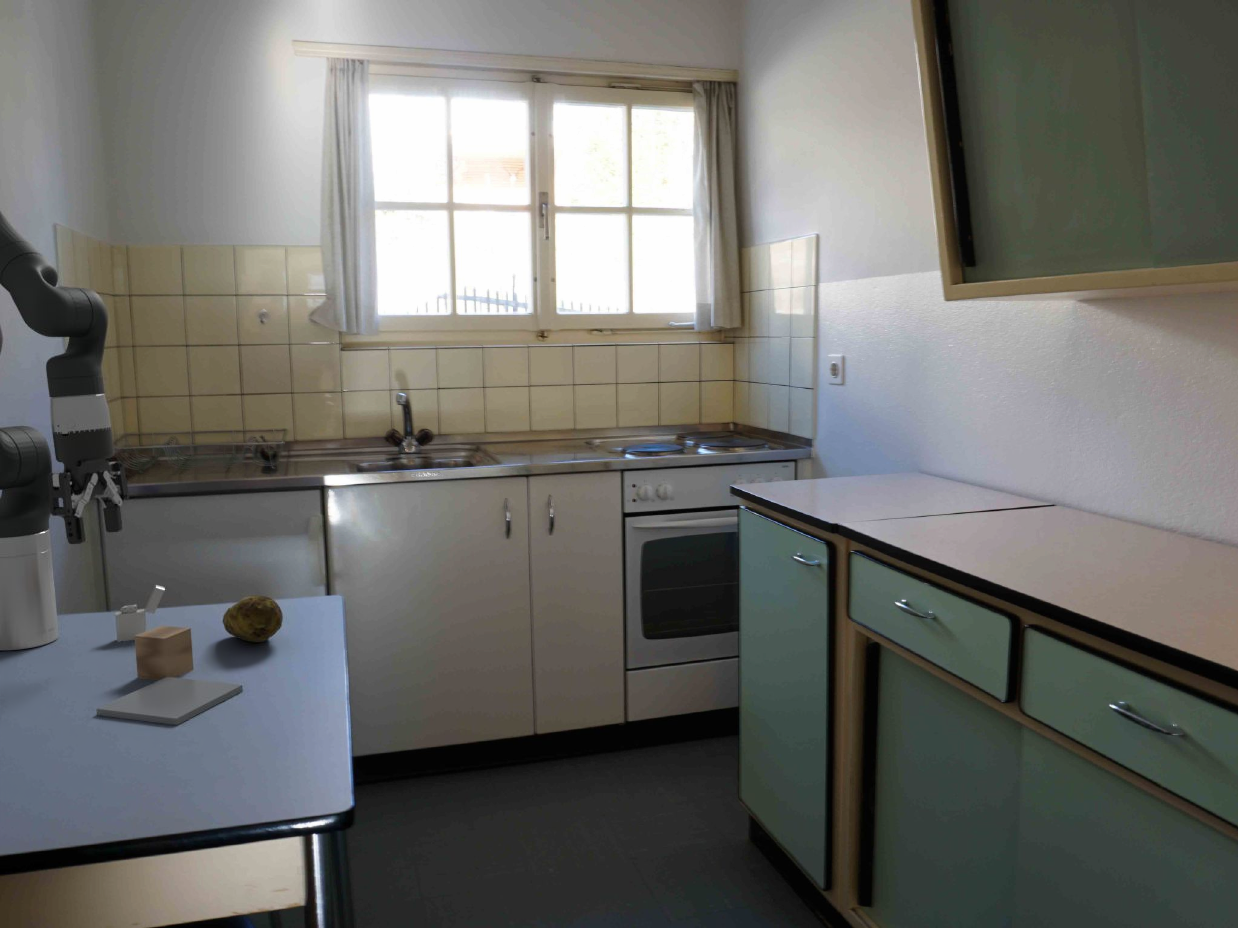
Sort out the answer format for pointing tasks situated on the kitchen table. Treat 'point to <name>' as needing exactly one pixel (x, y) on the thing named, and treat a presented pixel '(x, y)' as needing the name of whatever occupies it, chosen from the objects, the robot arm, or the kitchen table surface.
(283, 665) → the kitchen table surface
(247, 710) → the kitchen table surface
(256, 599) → the potato
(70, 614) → the kitchen table surface
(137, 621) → the lighter
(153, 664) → the block
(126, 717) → the coaster
